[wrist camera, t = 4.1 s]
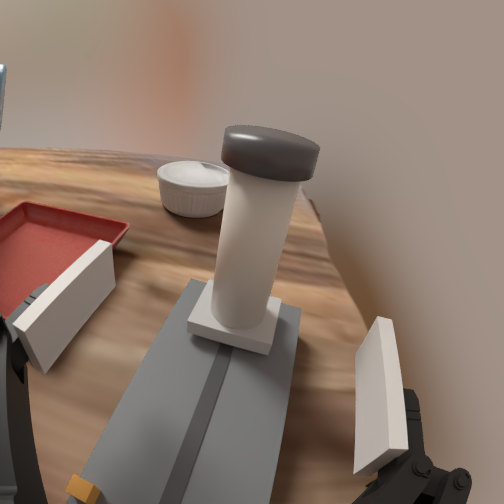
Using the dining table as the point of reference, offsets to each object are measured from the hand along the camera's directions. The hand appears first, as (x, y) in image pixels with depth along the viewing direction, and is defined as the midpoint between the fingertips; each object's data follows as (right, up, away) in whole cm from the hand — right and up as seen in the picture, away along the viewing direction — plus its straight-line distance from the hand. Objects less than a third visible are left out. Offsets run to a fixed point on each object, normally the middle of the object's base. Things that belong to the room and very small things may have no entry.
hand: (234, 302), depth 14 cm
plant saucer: (-23, 0, +14) cm, 27 cm away
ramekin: (-8, +9, +33) cm, 35 cm away
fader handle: (0, -3, +9) cm, 10 cm away
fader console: (-3, -10, +4) cm, 11 cm away
